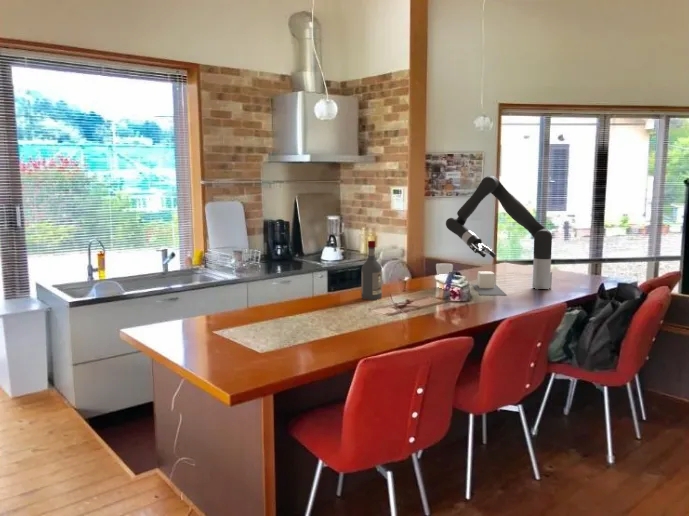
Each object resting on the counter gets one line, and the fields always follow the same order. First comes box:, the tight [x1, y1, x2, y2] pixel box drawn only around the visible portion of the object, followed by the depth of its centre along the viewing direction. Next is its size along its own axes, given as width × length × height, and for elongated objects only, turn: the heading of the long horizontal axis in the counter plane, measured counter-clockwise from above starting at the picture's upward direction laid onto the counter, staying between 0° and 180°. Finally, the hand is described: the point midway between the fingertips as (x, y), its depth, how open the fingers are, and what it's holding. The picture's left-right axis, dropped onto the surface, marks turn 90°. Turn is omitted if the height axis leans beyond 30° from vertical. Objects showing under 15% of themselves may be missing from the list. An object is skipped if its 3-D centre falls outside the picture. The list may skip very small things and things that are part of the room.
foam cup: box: [435, 263, 454, 276], centre depth 332 cm, size 10×9×13 cm
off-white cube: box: [476, 270, 496, 288], centre depth 331 cm, size 8×8×8 cm
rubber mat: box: [471, 284, 507, 296], centre depth 323 cm, size 28×14×1 cm, turn 177°
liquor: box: [360, 240, 383, 301], centre depth 302 cm, size 9×9×30 cm
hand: (489, 256), depth 323 cm, fingers open, 8 cm apart
